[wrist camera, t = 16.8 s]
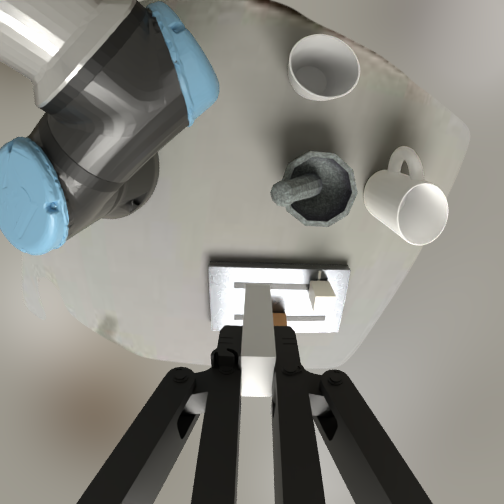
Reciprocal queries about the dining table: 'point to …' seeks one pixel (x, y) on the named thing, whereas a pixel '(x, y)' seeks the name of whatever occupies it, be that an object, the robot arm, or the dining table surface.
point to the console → (276, 292)
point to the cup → (322, 67)
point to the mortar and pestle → (316, 189)
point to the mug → (407, 199)
